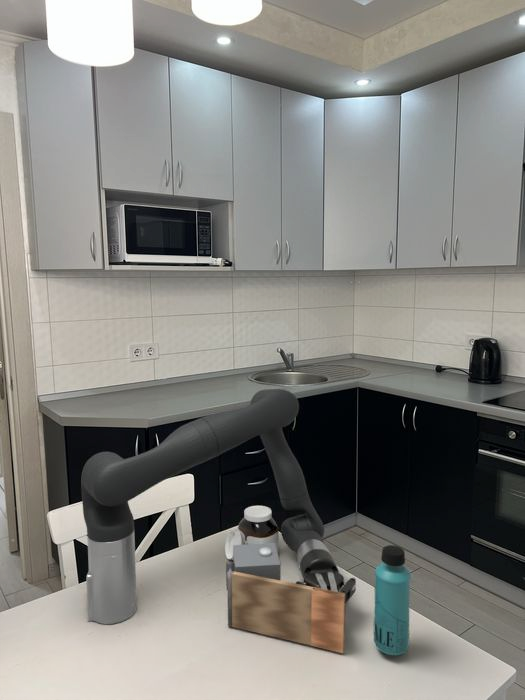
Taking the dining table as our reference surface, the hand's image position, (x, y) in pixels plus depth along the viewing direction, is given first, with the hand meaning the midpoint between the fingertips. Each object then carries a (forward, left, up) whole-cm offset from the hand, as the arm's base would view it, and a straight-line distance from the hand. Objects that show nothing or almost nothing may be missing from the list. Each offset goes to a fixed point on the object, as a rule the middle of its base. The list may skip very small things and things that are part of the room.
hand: (336, 613), depth 96 cm
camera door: (-9, +4, -6) cm, 12 cm away
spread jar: (-13, +35, -7) cm, 38 cm away
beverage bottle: (+10, -2, -7) cm, 12 cm away
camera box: (-14, +14, -7) cm, 21 cm away
